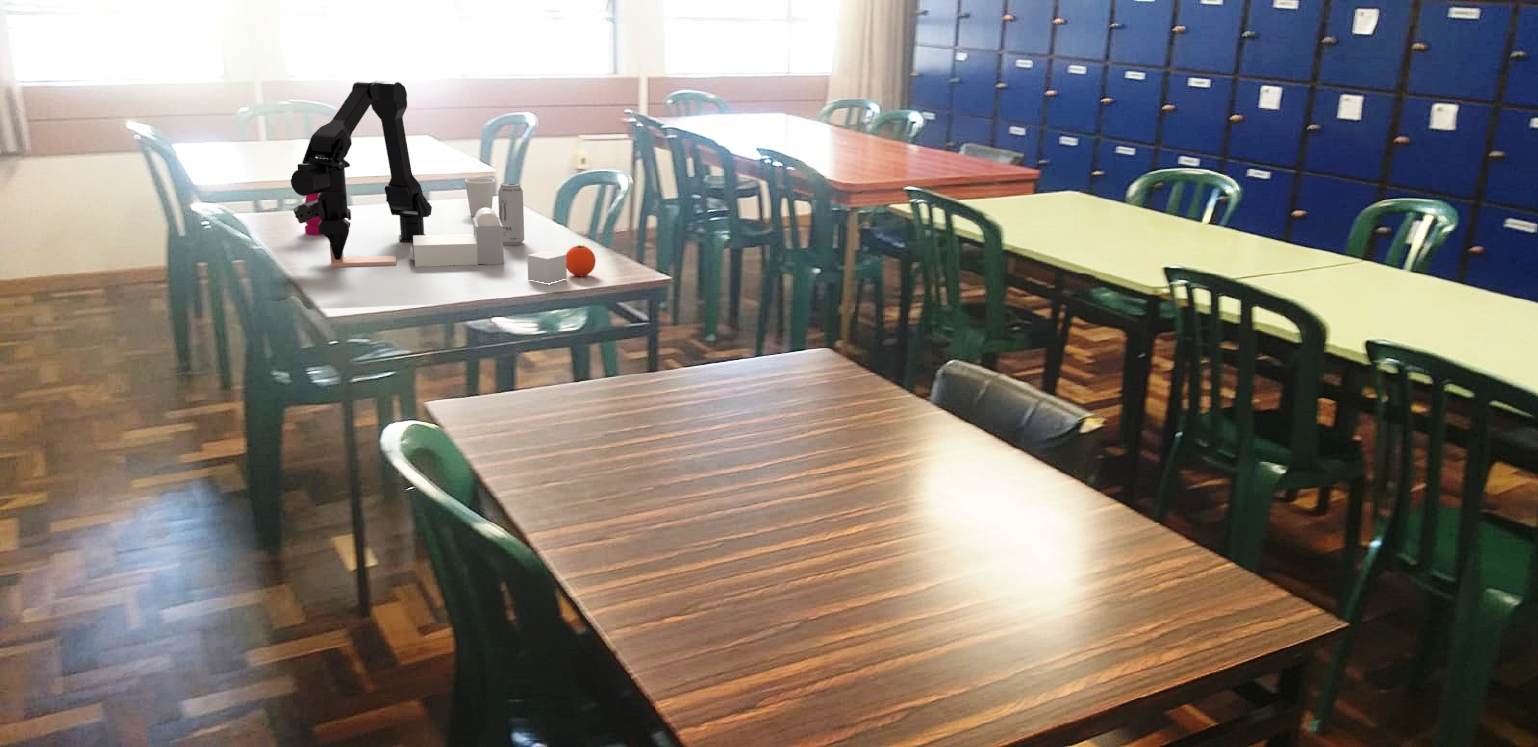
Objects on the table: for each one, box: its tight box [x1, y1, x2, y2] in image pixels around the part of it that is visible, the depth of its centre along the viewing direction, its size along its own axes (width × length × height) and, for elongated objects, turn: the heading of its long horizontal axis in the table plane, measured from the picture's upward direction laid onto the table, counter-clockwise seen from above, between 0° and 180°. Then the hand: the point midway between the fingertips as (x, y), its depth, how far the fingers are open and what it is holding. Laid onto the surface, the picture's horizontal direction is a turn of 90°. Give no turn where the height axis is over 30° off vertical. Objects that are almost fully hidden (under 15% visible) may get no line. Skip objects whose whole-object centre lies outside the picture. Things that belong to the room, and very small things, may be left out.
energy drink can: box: [497, 182, 525, 247], centre depth 290 cm, size 6×6×15 cm
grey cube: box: [527, 250, 568, 283], centre depth 256 cm, size 6×6×6 cm
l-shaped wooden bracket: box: [329, 244, 397, 268], centre depth 266 cm, size 6×14×5 cm, turn 107°
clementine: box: [565, 244, 596, 277], centre depth 262 cm, size 8×7×7 cm
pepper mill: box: [304, 157, 323, 236], centre depth 292 cm, size 7×7×20 cm
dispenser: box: [409, 207, 505, 268], centre depth 271 cm, size 11×21×12 cm, turn 107°
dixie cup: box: [464, 177, 496, 218], centre depth 324 cm, size 8×8×10 cm
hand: (338, 257), depth 264 cm, fingers closed on l-shaped wooden bracket, 4 cm apart
